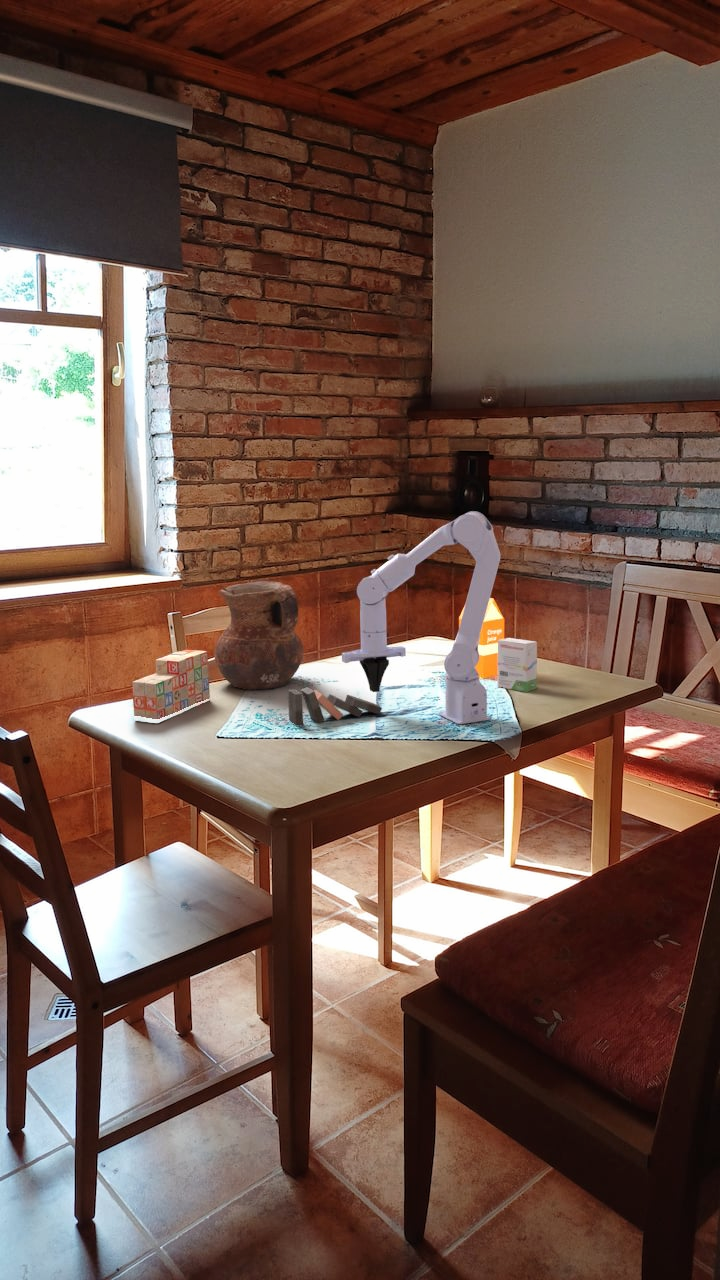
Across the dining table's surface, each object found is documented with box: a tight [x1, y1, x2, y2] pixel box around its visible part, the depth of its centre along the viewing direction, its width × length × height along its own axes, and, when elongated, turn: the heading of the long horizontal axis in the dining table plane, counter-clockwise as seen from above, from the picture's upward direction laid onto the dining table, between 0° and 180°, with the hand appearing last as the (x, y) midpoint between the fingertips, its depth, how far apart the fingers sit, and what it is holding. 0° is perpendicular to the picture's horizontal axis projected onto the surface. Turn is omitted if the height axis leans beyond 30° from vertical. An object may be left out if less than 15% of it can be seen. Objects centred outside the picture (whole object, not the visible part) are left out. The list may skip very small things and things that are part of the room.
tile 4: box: [287, 688, 304, 726], centre depth 210 cm, size 4×2×7 cm, turn 23°
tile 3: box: [300, 686, 325, 724], centre depth 211 cm, size 4×2×7 cm, turn 23°
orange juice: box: [458, 597, 505, 679], centre depth 250 cm, size 8×9×20 cm
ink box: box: [497, 637, 538, 693], centre depth 235 cm, size 8×5×12 cm, turn 47°
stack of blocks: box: [132, 649, 211, 719], centre depth 221 cm, size 21×6×12 cm, turn 157°
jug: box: [214, 580, 304, 690], centre depth 244 cm, size 22×21×25 cm
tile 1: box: [344, 694, 383, 715], centre depth 216 cm, size 4×2×7 cm
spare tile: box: [313, 689, 344, 721], centre depth 213 cm, size 4×2×7 cm
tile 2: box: [326, 693, 363, 718], centre depth 214 cm, size 4×2×7 cm
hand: (374, 690), depth 216 cm, fingers closed
